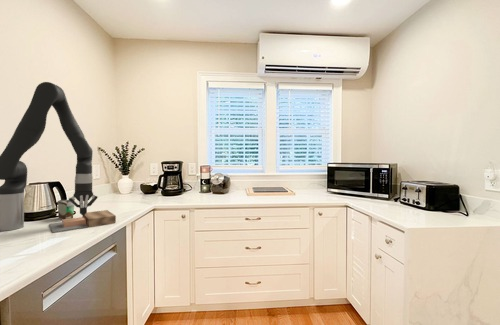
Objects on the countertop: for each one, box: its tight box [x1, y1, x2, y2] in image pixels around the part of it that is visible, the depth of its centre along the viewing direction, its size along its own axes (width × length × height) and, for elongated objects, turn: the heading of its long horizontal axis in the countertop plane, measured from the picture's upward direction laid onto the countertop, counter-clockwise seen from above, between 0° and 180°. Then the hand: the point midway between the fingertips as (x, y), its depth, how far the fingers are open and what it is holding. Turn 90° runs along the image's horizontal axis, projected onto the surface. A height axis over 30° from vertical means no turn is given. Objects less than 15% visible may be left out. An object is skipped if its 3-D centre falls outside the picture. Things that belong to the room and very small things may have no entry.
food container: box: [57, 199, 75, 220], centre depth 132 cm, size 12×6×10 cm, turn 59°
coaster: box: [61, 216, 86, 227], centre depth 118 cm, size 9×7×2 cm
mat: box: [48, 221, 89, 234], centre depth 117 cm, size 14×18×1 cm
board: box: [81, 209, 117, 228], centre depth 126 cm, size 12×18×4 cm, turn 45°
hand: (83, 214), depth 121 cm, fingers closed
